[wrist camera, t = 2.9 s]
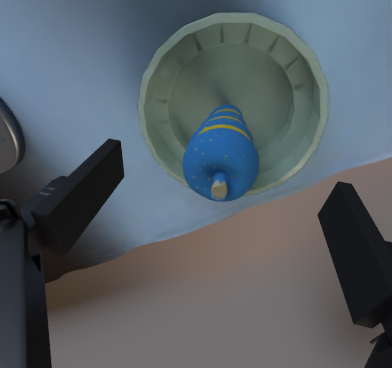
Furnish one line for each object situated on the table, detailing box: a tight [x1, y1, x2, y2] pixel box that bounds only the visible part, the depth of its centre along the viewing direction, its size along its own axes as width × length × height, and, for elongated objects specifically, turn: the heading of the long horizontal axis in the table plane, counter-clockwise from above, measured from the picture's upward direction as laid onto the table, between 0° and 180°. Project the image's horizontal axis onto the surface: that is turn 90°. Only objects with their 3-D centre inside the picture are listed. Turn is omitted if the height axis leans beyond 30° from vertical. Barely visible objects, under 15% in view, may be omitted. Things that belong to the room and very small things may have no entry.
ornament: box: [182, 104, 260, 202], centre depth 19 cm, size 5×5×15 cm
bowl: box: [137, 12, 328, 196], centre depth 23 cm, size 16×16×6 cm
